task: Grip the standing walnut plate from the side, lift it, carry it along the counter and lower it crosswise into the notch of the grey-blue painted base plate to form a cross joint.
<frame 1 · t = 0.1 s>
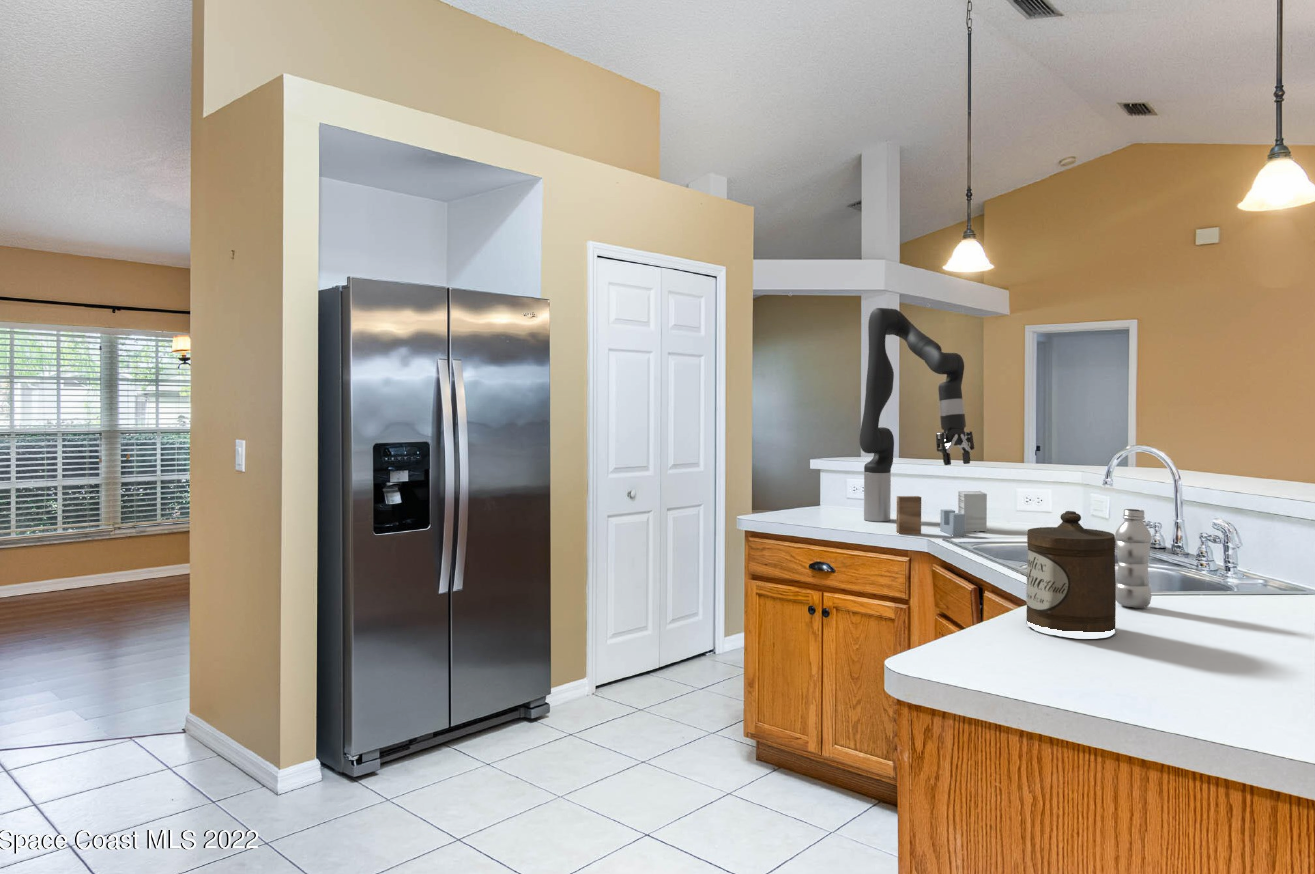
hand: (957, 464, 264), 22 cm above the counter, tool pointing down, fingers open, 8 cm apart
wooden container: (1069, 630, 154), on the counter
slotted base: (952, 533, 266), on the counter
supplement box: (972, 530, 273), on the counter
walnut plate: (908, 533, 266), on the counter
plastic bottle: (1132, 607, 170), on the counter
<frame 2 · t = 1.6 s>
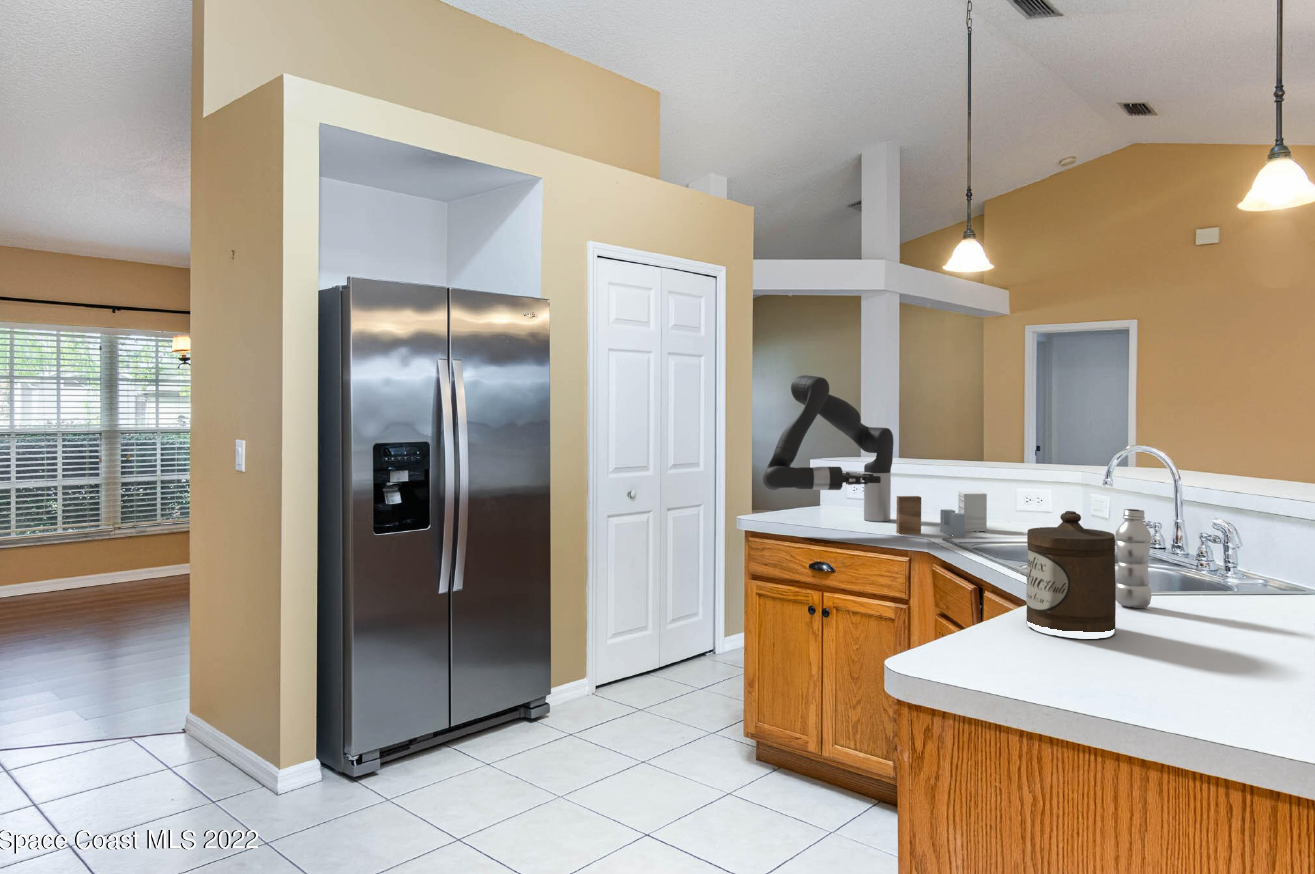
hand: (876, 478, 265), 18 cm above the counter, tool horizontal, fingers open, 8 cm apart
nothing on the counter moved.
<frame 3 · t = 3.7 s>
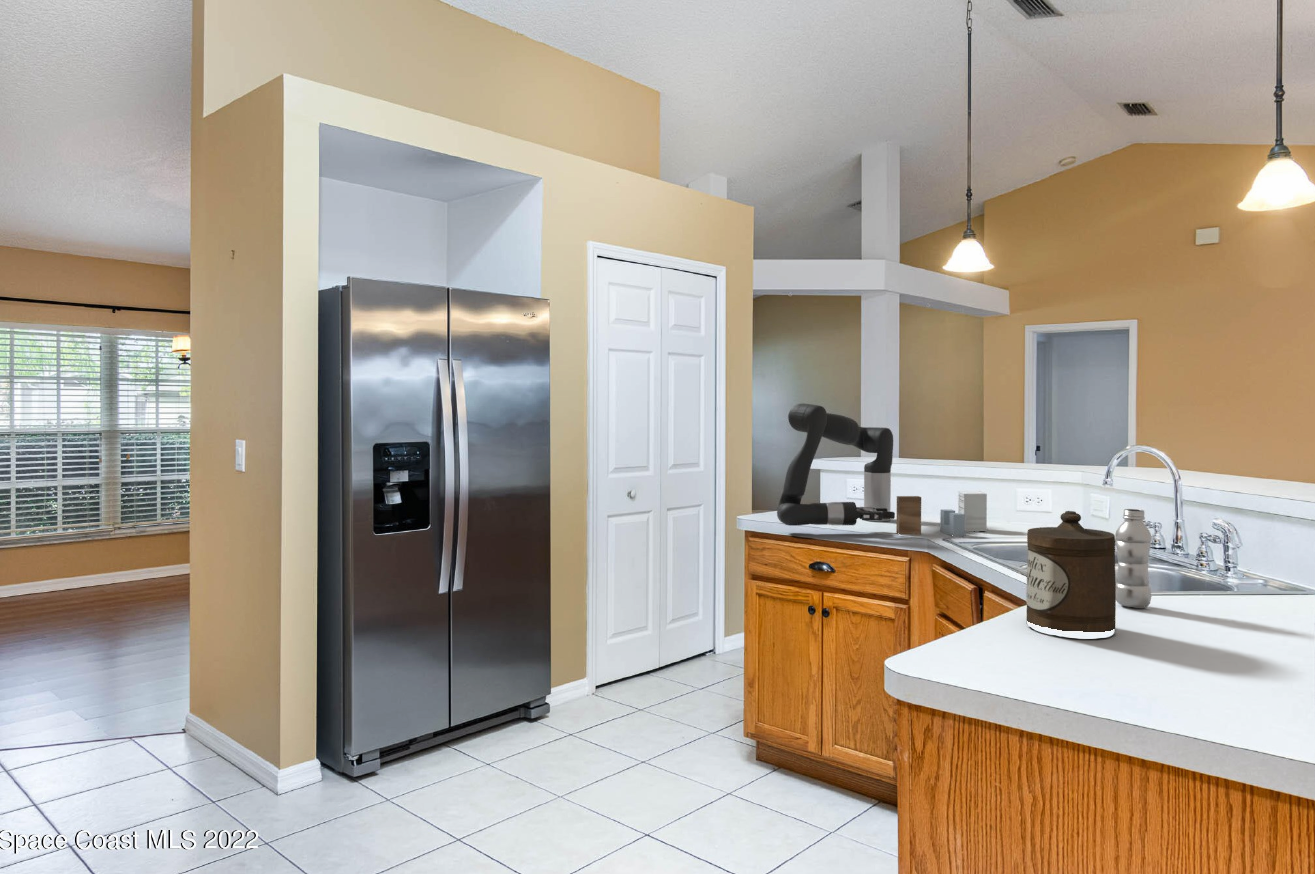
hand: (890, 513, 266), 7 cm above the counter, tool horizontal, fingers open, 8 cm apart
nothing on the counter moved.
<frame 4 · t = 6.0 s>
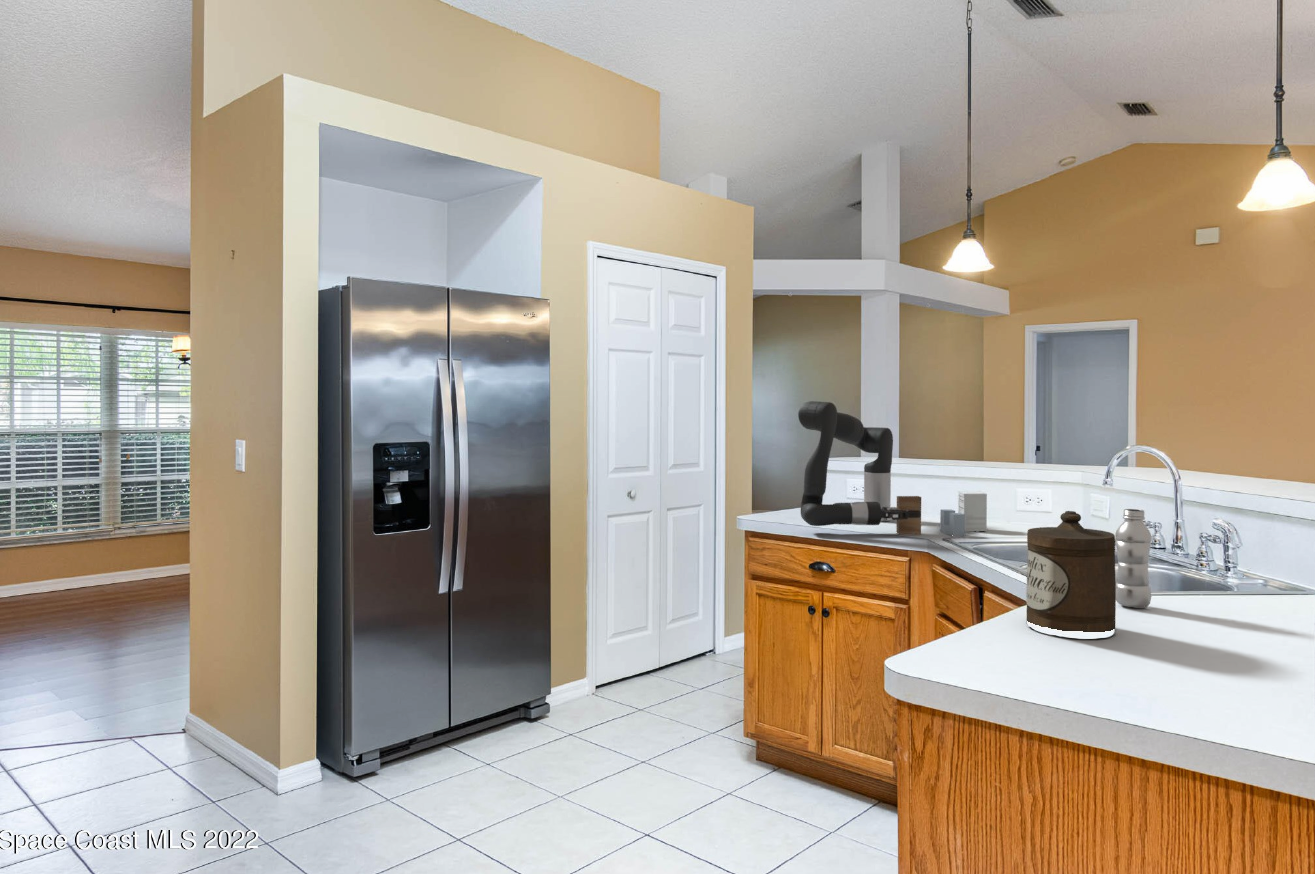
hand: (917, 513, 265), 7 cm above the counter, tool horizontal, fingers closed on walnut plate, 3 cm apart
walnut plate: (908, 533, 266), on the counter, touching gripper
everything else where it was.
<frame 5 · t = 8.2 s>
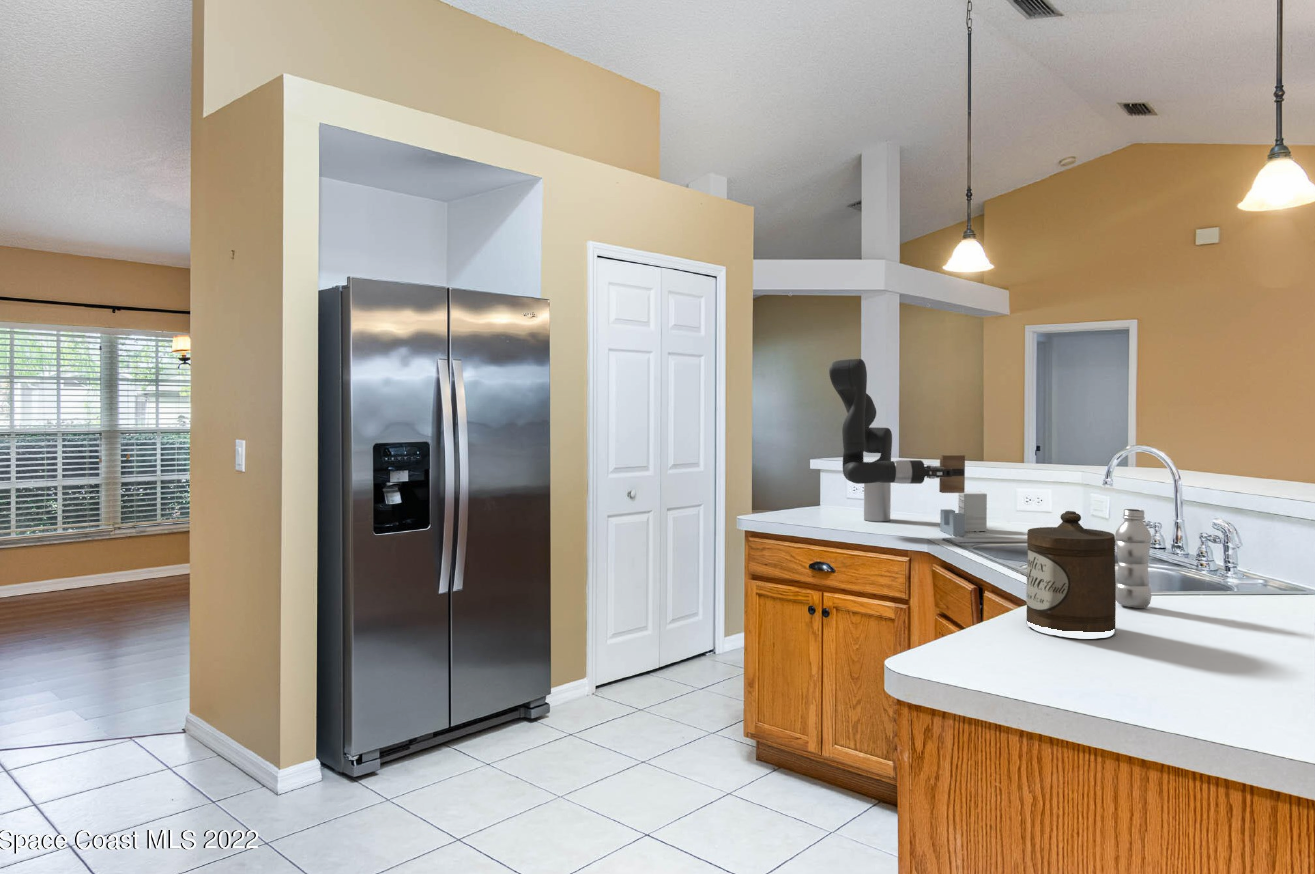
hand: (961, 471, 265), 20 cm above the counter, tool horizontal, fingers closed on walnut plate, 3 cm apart
walnut plate: (951, 492, 265), point 13 cm above the counter, touching gripper
everything else where it was.
when the fingers open (10 cm above the counter, at t = 10.9 s): walnut plate stays where it is, resting on slotted base.
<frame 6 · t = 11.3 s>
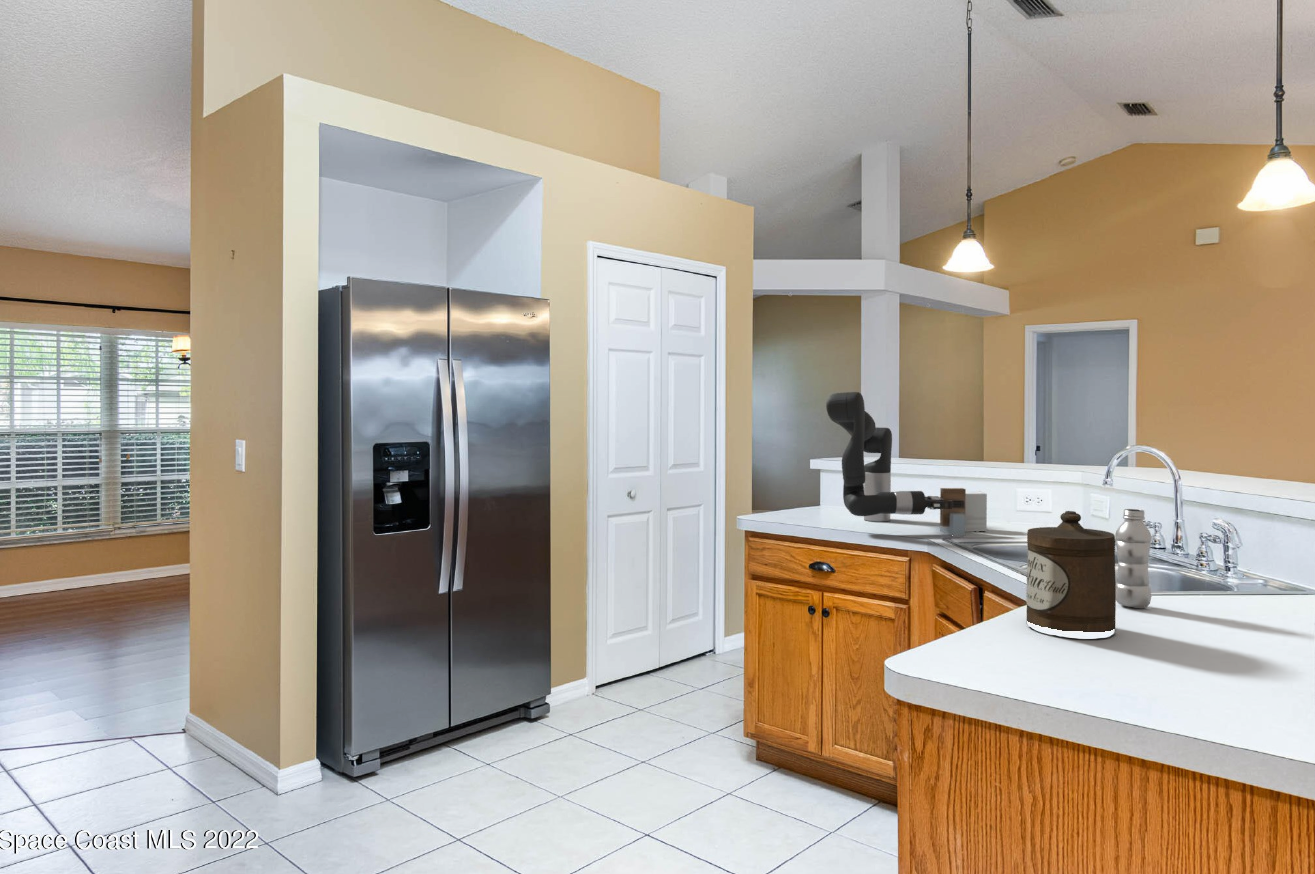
hand: (959, 502, 265), 10 cm above the counter, tool horizontal, fingers open, 7 cm apart
walnut plate: (952, 525, 266), point 2 cm above the counter, touching slotted base
everything else where it was.
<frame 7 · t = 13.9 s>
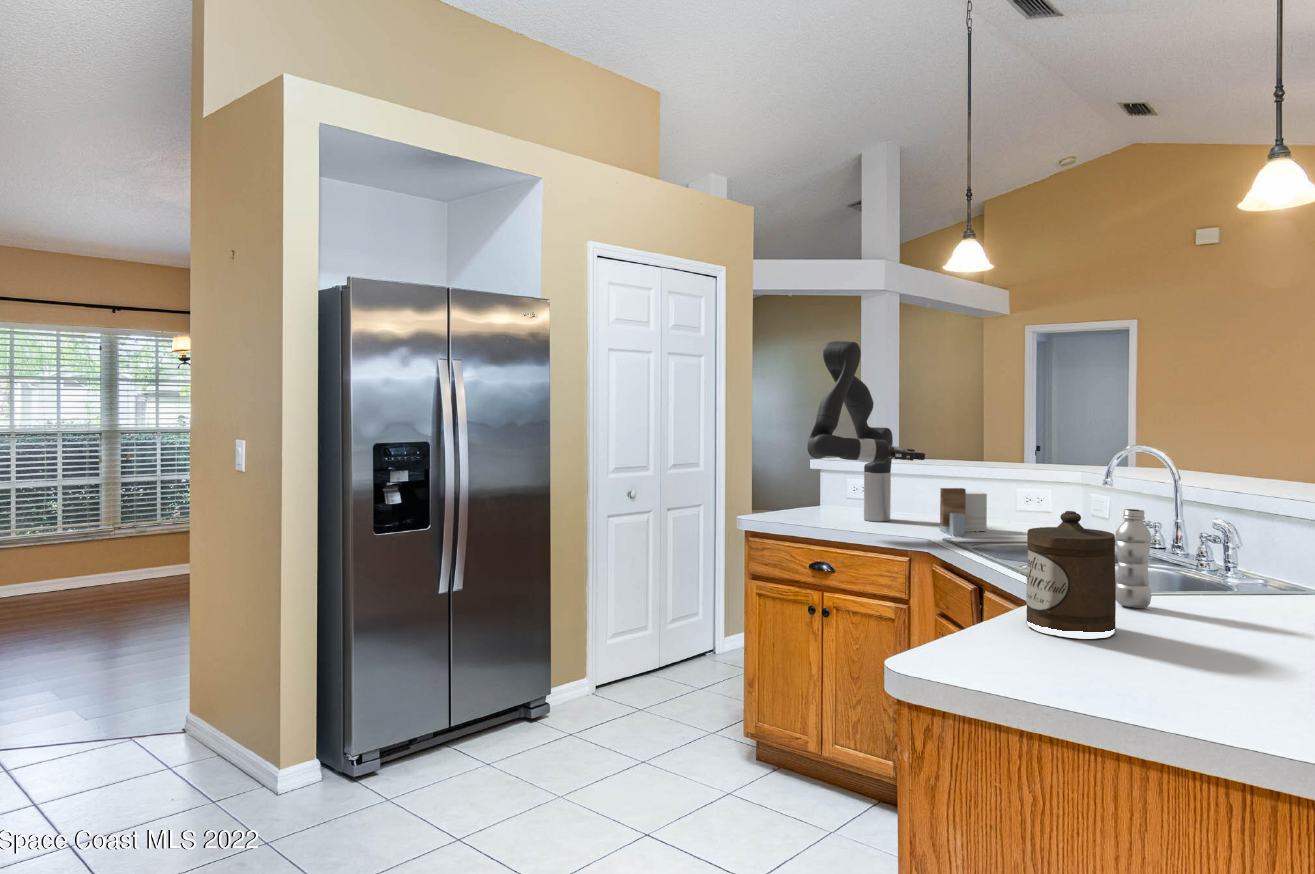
hand: (919, 454, 267), 25 cm above the counter, tool horizontal, fingers open, 8 cm apart
nothing on the counter moved.
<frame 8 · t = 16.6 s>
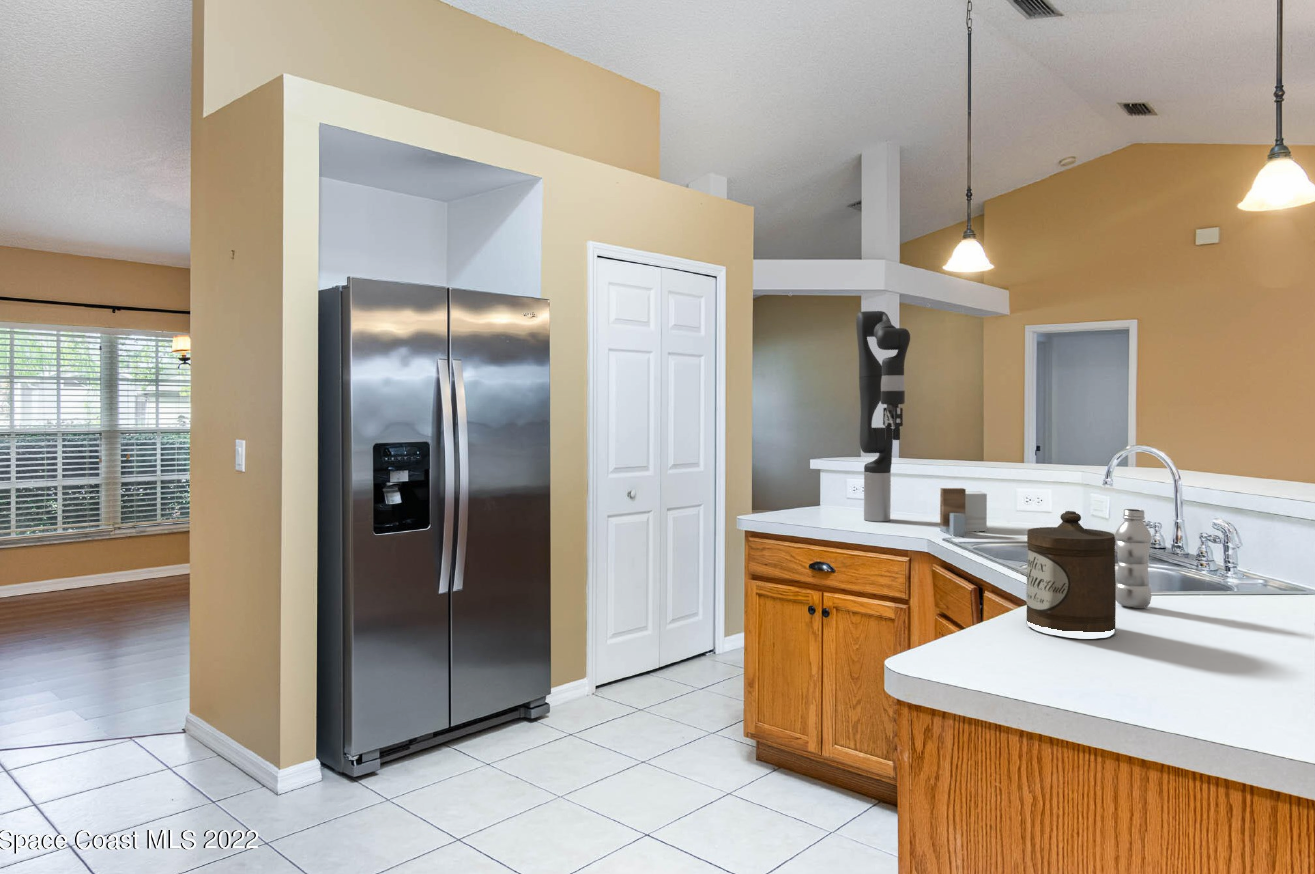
hand: (892, 439, 270), 30 cm above the counter, tool pointing down, fingers open, 8 cm apart
nothing on the counter moved.
at the end: walnut plate 0.1 cm off-centre on the slotted base, point 2.5 cm above the slotted base's base; walnut plate tilted 0°; the gripper is holding nothing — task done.
